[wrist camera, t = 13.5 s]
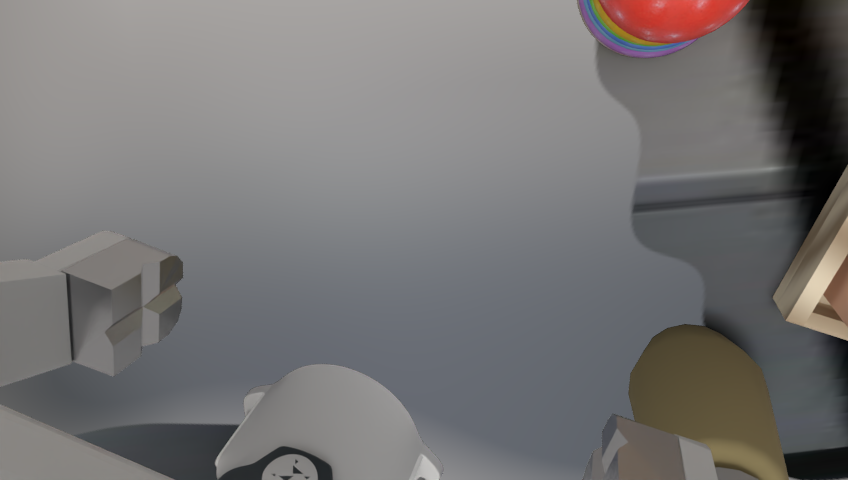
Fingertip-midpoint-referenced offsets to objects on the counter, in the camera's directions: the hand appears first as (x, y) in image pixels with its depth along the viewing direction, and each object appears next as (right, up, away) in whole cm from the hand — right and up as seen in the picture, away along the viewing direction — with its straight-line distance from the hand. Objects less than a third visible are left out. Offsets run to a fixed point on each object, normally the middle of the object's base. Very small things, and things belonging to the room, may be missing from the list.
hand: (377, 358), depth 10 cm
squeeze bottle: (+19, -6, +30) cm, 36 cm away
